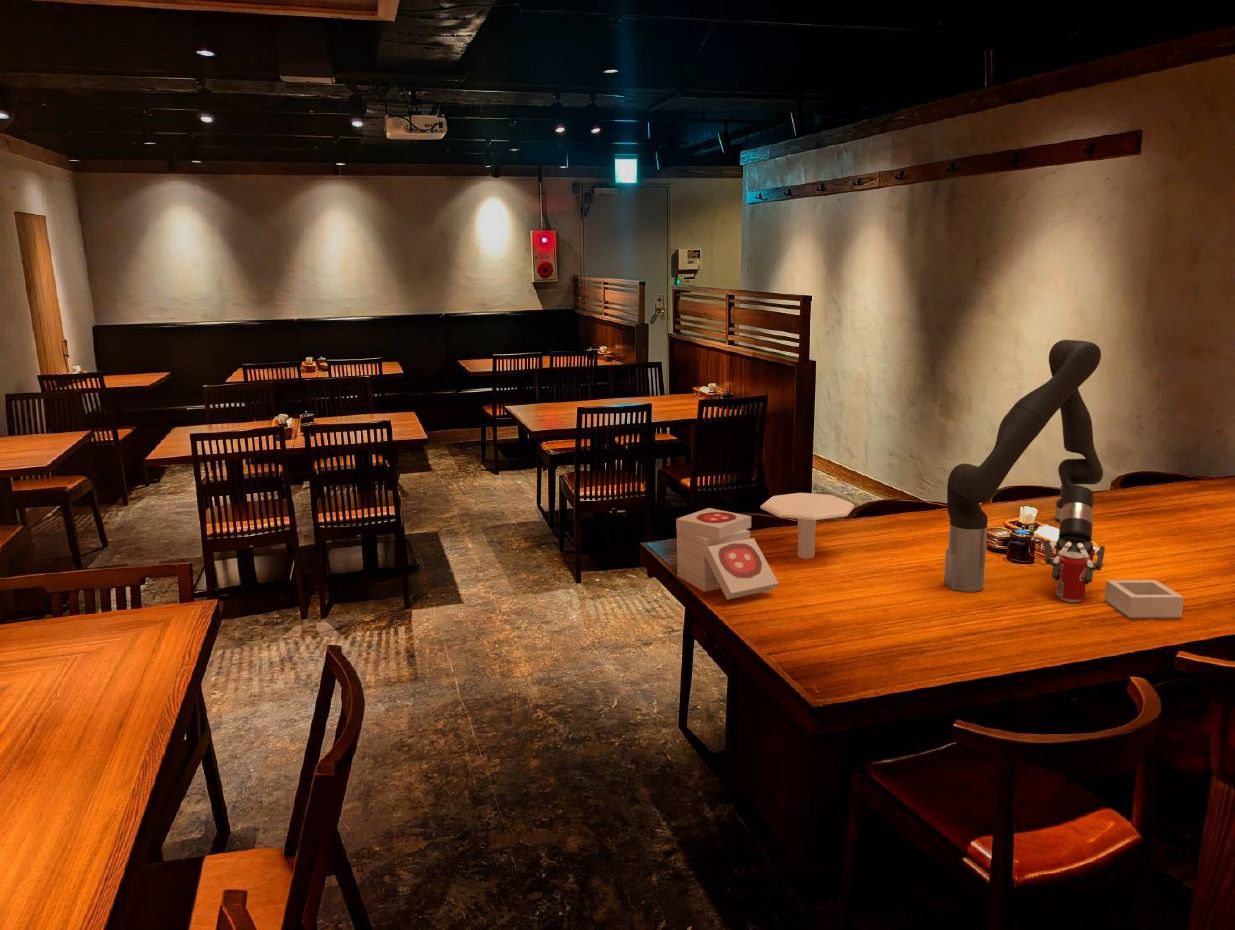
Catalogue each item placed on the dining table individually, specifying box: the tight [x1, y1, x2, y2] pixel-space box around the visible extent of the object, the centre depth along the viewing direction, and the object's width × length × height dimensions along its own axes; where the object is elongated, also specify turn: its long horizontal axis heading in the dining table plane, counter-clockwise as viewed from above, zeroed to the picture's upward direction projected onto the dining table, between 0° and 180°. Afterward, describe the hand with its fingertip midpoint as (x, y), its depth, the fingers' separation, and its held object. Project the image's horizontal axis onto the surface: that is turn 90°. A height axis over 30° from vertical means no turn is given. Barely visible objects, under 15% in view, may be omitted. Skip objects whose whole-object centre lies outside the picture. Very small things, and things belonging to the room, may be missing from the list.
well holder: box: [1104, 579, 1185, 620], centre depth 208 cm, size 12×12×6 cm
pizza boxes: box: [675, 507, 779, 601], centre depth 233 cm, size 19×30×18 cm, turn 26°
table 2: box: [760, 492, 855, 560], centre depth 255 cm, size 28×28×17 cm
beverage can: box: [1056, 552, 1087, 604], centre depth 215 cm, size 6×6×12 cm
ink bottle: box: [1054, 484, 1080, 523], centre depth 283 cm, size 10×9×12 cm
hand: (1071, 580), depth 214 cm, fingers closed on beverage can, 6 cm apart
